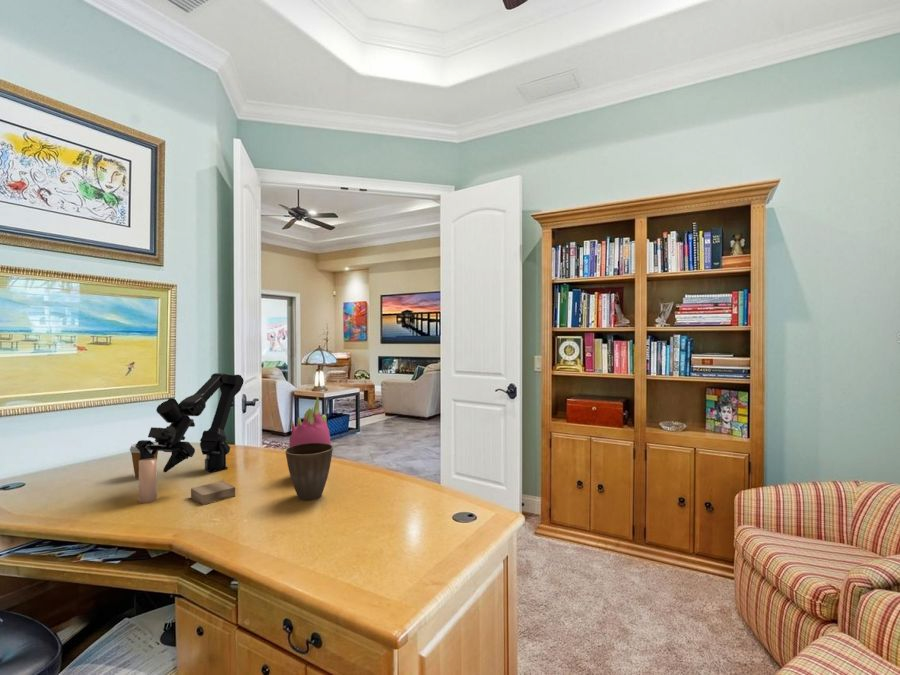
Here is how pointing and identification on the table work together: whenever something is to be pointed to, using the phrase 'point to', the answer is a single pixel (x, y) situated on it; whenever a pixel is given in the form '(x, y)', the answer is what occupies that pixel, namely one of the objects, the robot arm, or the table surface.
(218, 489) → the base
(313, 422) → the pink dragon fruit
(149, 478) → the pillar
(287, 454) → the plant pot
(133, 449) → the disposable coffee cup
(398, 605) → the table surface
